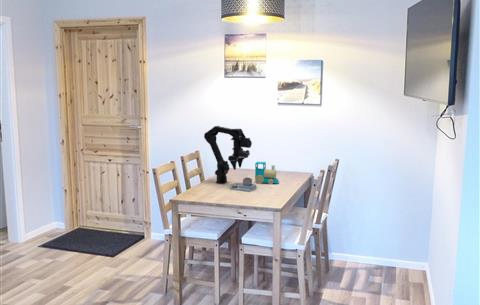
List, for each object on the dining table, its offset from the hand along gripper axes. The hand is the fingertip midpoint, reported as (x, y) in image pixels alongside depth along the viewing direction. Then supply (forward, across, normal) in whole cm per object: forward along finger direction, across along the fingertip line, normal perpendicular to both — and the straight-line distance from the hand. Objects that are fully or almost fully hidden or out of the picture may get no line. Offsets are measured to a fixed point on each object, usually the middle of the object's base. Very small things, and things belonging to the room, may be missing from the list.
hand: (237, 168), depth 329 cm
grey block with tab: (+11, -9, -11) cm, 18 cm away
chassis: (+12, -9, -8) cm, 17 cm away
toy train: (+12, +16, -17) cm, 26 cm away
